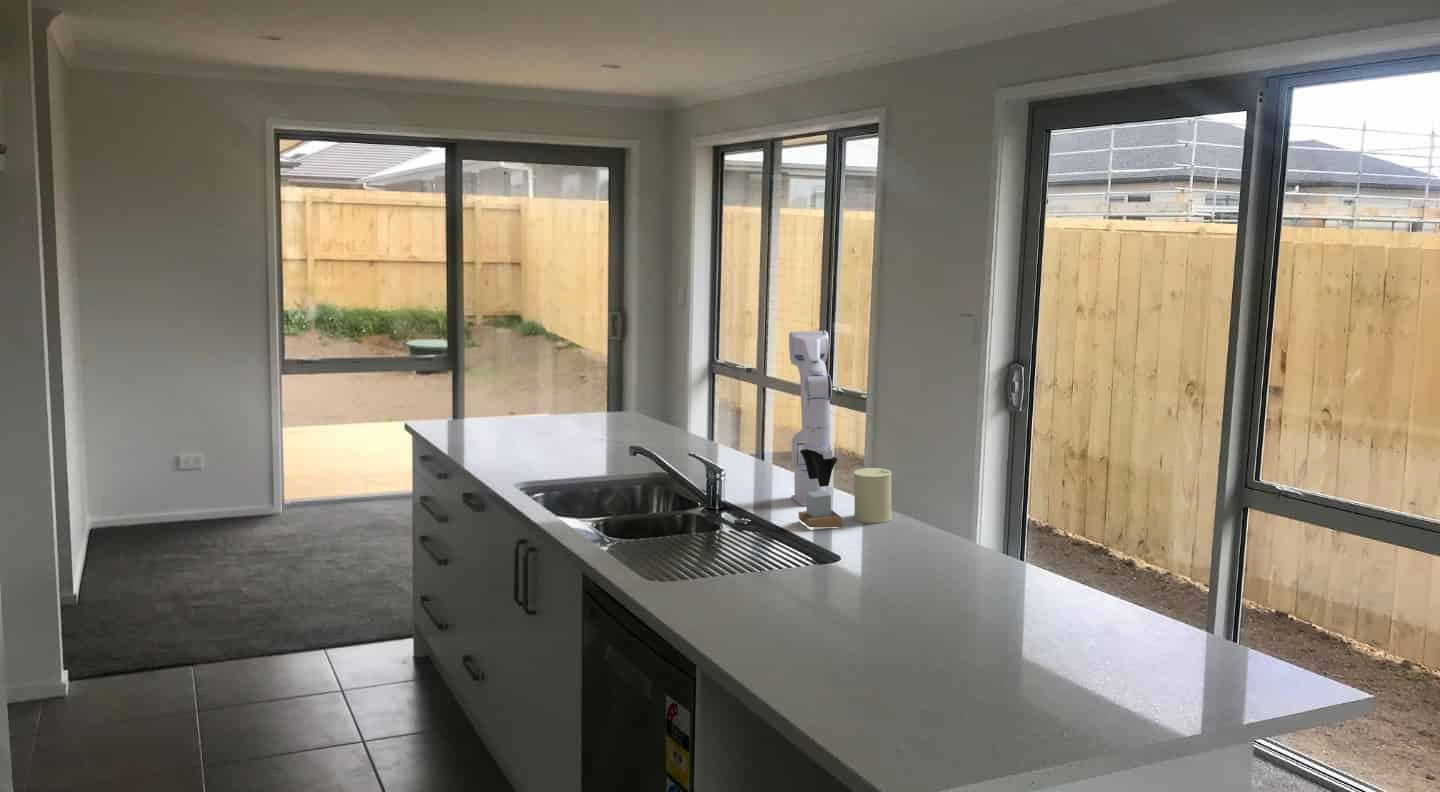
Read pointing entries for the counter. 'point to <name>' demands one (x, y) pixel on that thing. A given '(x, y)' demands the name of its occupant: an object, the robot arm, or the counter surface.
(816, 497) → the block
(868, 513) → the can
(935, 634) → the counter surface
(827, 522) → the slab
